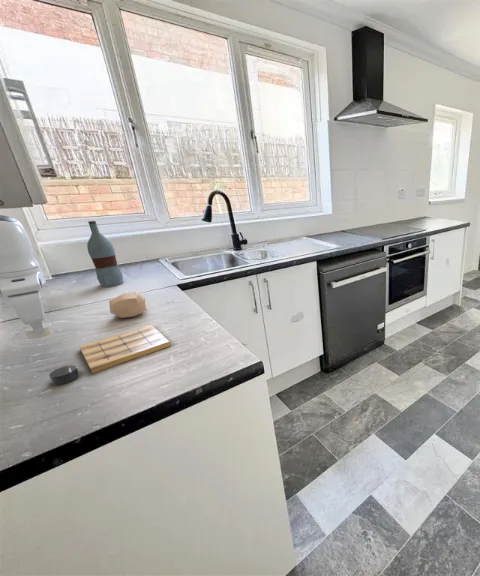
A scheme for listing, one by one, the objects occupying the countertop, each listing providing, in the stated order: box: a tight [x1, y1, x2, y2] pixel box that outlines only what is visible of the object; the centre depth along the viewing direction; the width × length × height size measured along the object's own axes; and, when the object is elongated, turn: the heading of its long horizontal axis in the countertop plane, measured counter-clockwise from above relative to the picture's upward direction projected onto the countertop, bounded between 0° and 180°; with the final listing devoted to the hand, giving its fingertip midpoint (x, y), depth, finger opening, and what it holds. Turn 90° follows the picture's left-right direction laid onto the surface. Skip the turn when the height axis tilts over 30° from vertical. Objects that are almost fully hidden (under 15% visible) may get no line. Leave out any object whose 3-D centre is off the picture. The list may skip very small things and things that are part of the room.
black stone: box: [48, 364, 81, 386], centre depth 78 cm, size 5×5×2 cm
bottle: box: [86, 220, 124, 288], centre depth 144 cm, size 9×9×30 cm
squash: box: [108, 291, 147, 319], centre depth 116 cm, size 11×20×9 cm, turn 37°
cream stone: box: [23, 322, 55, 340], centre depth 83 cm, size 5×5×2 cm
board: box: [78, 324, 172, 374], centre depth 92 cm, size 18×18×2 cm
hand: (38, 328), depth 83 cm, fingers closed on cream stone, 5 cm apart
